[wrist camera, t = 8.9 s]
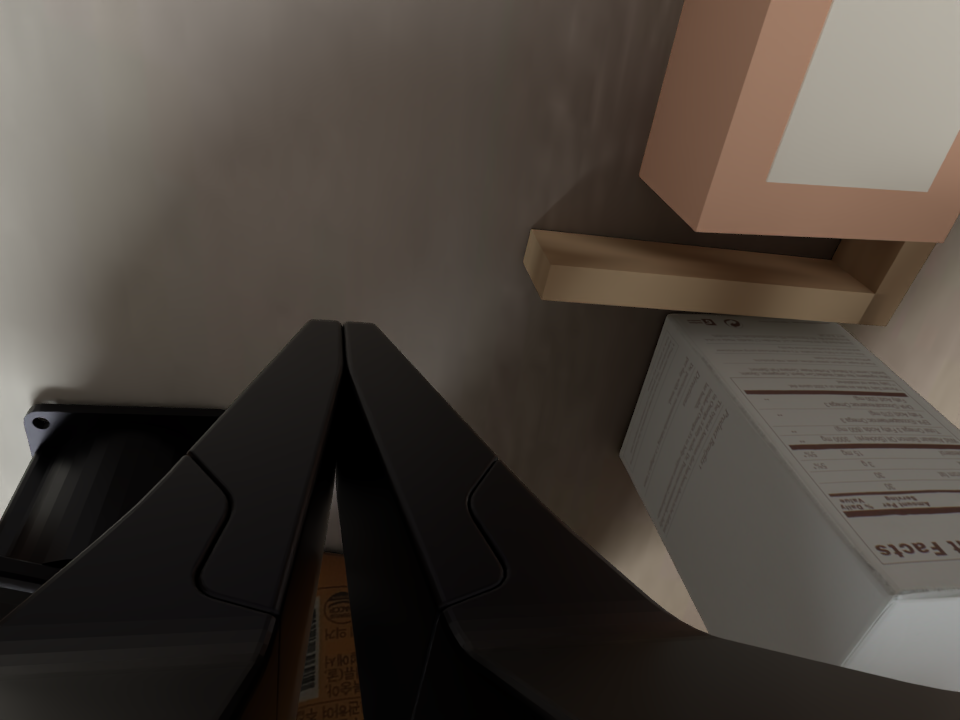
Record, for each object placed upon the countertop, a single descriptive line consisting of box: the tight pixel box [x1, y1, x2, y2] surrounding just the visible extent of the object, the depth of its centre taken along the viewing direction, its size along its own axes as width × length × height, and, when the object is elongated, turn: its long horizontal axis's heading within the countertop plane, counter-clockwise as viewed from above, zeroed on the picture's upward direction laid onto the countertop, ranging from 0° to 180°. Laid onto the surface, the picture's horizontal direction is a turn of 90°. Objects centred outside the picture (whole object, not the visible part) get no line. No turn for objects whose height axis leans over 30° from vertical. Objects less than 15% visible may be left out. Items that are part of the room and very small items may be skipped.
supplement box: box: [619, 314, 960, 692], centre depth 22 cm, size 7×7×13 cm
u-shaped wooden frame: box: [523, 229, 936, 326], centre depth 19 cm, size 13×16×2 cm
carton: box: [639, 0, 960, 243], centre depth 18 cm, size 8×10×5 cm
